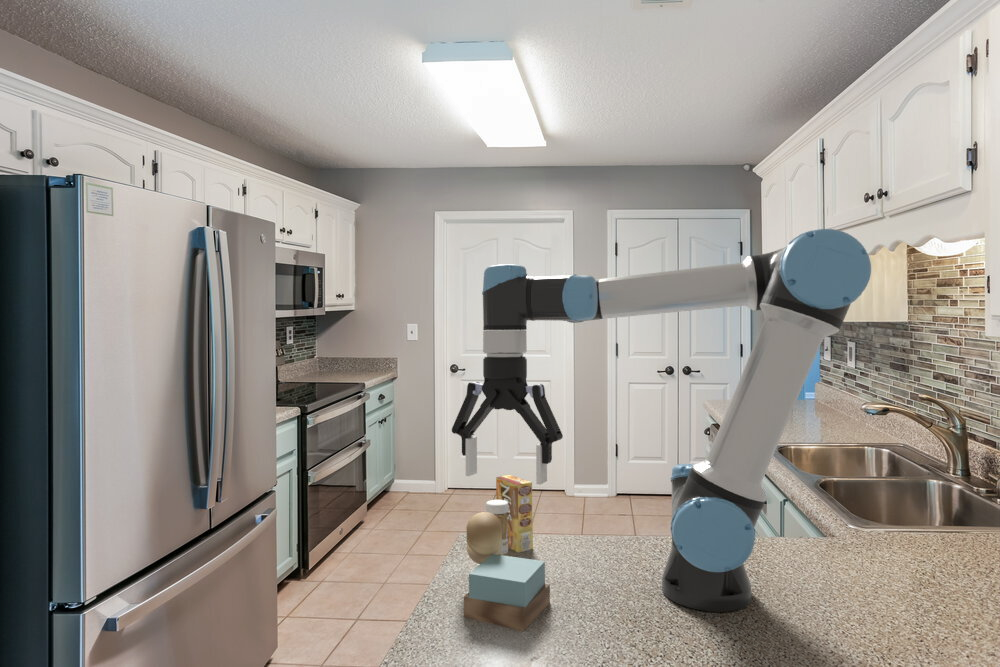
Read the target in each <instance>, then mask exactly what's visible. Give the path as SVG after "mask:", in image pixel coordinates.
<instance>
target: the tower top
mask: <svg viewBox="0 0 1000 667" xmlns="http://www.w3.org/2000/svg"><path fill="white" fill-rule="evenodd" d="M545 570H546V561H544V560H540V559H539V560H538V559H530V558H525V557H515V556H509V555H508V556H503V555H496V554H492V555H491V556H490V557H488V558H487V559H486V560H485V561H484V562H482V563H481V564H478V565H477V566H476V567H475V568H474V569H473V570H471V571H470V572H469V573H468V593H469V598H473V599H479V600H484V601H490V602H496V603H502V604H508V605H513V606H519V607H526V606H527V605H528V604H529V602H530V601H531V600H532V599H533V598H534V597H535V595H536V594H537V593H538V592H539V591H540V589H541V588H542V587H543V586H544V585H545V584H546V571H545Z"/></svg>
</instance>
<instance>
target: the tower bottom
mask: <svg viewBox="0 0 1000 667" xmlns="http://www.w3.org/2000/svg"><path fill="white" fill-rule="evenodd" d="M550 585H551V584H550V583H545V585H544V586H543V587H542V588H541V589H540V591H539V592H538V593H537V594H536V595H535V597H534V598H533V599H532V600H531V601H530V602H529V604H528V605H527V606H526V607H519V606H513V605H508V604H502V603H496V602H490V601H484V600H479V599H473V598H469V592H468V593H466V594H464V596H463V618H466V619H470V620H475V621H479V622H483V623H487V624H490V625H495V626H499V627H503V628H506V629H511V630H516V631H519V632H524V631H525V630H527V628H529V627H530V625H531V624H532V623H533V622H534V621H535V620H536V619H537V617H539V615H540V614H542V612H543V611H544V610H545V609H546V608H547V607H548V606H549V605H550V604H551V586H550Z"/></svg>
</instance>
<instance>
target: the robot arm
mask: <svg viewBox="0 0 1000 667" xmlns="http://www.w3.org/2000/svg"><path fill="white" fill-rule="evenodd" d="M871 275H872V264H871V258H870V255H869V254H868V252H867V250H866V248H865V246H864V245H863V244H862V243H861V242H860V241H859V240H858V239H857V238H856V237H855V236H853V235H852V234H849V233H848V232H845V231H842V230H838V229H836V228H835V229H834V228H820V229H819V228H818V229H814V230H813V229H812V230H808V231H806V232H802V233H801V234H799V235H798V236H797V235H796V237H794V238H793V239H792V240H790V242H788V244H787V245H786V246H784V247H782V248H780V249H776V250H774V251H771V252H766V253H762V254H758V255H757V254H755V255H748V256H747V257H746V258H745V259H744V260H743V261H742V262H738V263H728V264H720V265H719V264H718V265H712V266H703V267H695V268H694V267H693V268H686V269H678V270H677V269H676V270H675V269H674V270H668V271H658V272H649V273H640V274H632V275H631V274H630V275H623V276H616V277H615V276H614V277H606V278H605V277H604V278H597V279H595V277H594V276H592V275H581V274H580V275H579V274H572V275H551V276H530V275H529V276H528V273H527V268H526V267H525V266H524V265H519V264H495V265H493V264H492V265H490V266H487V267H486V268H485V270H484V273H483V281H482V282H483V283H482V284H483V286H482V291H481V295H482V315H483V316H482V318H483V319H482V320H483V330H482V335H483V338H482V342H483V343H482V344H483V345H482V349H483V350H482V352H483V354H486V356H484V358H483V360H482V363H483V364H482V366H483V367H482V370H483V371H482V372H483V379H484V380H483V383H480V381H473V382H472V381H471V382H468V383H467V386H466V395H465V398H464V400H463V402H462V405H461V407H460V409H459V411H458V413H457V416H456V418H455V420H454V423H453V425H452V428H451V432H452V433H453V434H454V435H455V434H456V435H458V436H459V437H460V438H461V455H462V456H463V457H464V456H465V477H471V476H473V475H476V474H477V473H478V444H477V443H478V436H474V435H475V432H476V431H477V430H478V428H479V427H480V426H481V424H482V423H483V422H484V421H485V419H486V418H487V417H488V416H489V414H490V413H491V412H492V411H493V410H505V411H512V410H513V411H515V412H517V413H518V414H519V415H520V416H521V418H522V419H523V420H524V422H525V423H526V424H527V426H528V427H529V429H530V430H531V431H532V433H533V434H534V435H535V436H536V438H537V440H538V441H539V443H537V444H536V445H535V446H536V447H535V448H536V449H535V450H536V451H535V452H536V454H535V456H536V460H535V461H536V462H535V463H536V467H535V468H536V472H535V474H536V475H535V478H536V480H535V481H536V485H543V484H544V483H546V482H547V481H548V464H550V463H551V462H552V460H553V458H552V457H553V456H552V455H553V454H552V453H553V452H552V450H553V448H552V447H553V443H556V442H558V441H560V440H562V439H563V436H564V435H563V433H562V431H561V427H560V426H559V424H558V422H557V420H556V417H555V414H554V412H553V410H552V409H551V407H550V405H549V402H548V400H547V397H546V390H545V385H544V384H543V383H538V384H533V385H528V383H527V376H528V375H527V374H528V373H527V372H528V364H527V363H528V362H527V361H528V359H527V357H526V356H524V354H526V353H527V348H528V347H527V329H528V328H527V322H528V321H533V322H535V321H559V322H560V321H562V322H567V323H572V324H575V323H582V322H583V323H584V322H586V321H595V320H599V321H600V320H605V319H615V318H626V317H637V316H638V317H639V316H647V315H649V316H650V315H659V314H672V313H681V312H690V311H703V310H713V309H715V310H716V309H724V308H733V307H734V308H736V307H743V306H744V307H748V308H749V309H750V310H751V311H761V312H762V315H763V316H764V321H763V323H762V326H761V327H760V330H759V332H758V334H757V337H756V340H755V342H754V345H753V347H752V349H751V352H750V353H749V354H750V355H749V357H748V359H747V361H746V364H745V366H744V369H743V371H742V373H741V376H740V378H739V381H738V382H737V385H736V387H735V390H734V392H733V394H732V396H731V399H730V402H729V405H728V407H727V409H726V411H725V414H724V417H723V418H722V421H721V423H720V425H719V428H718V431H717V432H716V436H715V438H714V440H713V443H712V445H711V447H710V450H709V452H708V453H707V457H706V459H704V460H702V461H699V462H696V463H679V464H676V465H674V466H673V468H672V469H671V477H670V482H671V520H670V521H671V522H670V524H671V525H670V535H671V549H670V552H669V555H668V558H667V561H666V564H665V566H664V570H663V573H662V577H661V590H662V593H663V594H664V595H665V597H666V598H668V599H669V600H670V601H672V602H674V603H676V604H678V605H681V606H683V607H686V608H690V609H694V610H699V611H703V612H704V611H705V612H712V613H713V612H714V613H726V612H736V611H740V610H743V609H744V608H747V607H748V606H750V605H751V602H752V585H751V583H750V580H749V575H748V573H747V570H746V567H745V564H744V563H745V562H746V561H748V559H749V558H750V557H751V554H752V552H753V551H754V546H755V541H756V530H755V526H756V524H757V523H758V520H759V518H760V516H761V514H762V511H763V508H764V506H765V503H766V501H767V495H766V493H765V491H764V488H763V486H762V483H763V480H764V478H765V475H766V473H767V470H768V468H769V466H770V464H771V461H772V459H773V457H774V455H775V452H776V449H777V447H778V445H779V442H780V440H781V438H782V436H783V434H784V431H785V428H786V427H787V425H788V422H789V419H790V417H791V415H792V412H793V410H794V408H795V405H796V403H797V401H798V398H799V396H800V394H801V391H802V389H803V387H804V385H805V382H806V380H807V378H808V375H809V373H810V370H811V368H812V366H813V363H814V362H815V359H816V356H817V354H818V352H819V349H820V347H821V344H822V342H823V340H825V338H827V337H829V336H833V335H835V334H837V333H839V331H840V329H841V327H842V325H843V322H844V320H845V318H846V316H847V314H848V311H849V308H850V307H851V304H852V303H854V302H855V301H857V300H858V298H859V297H860V296H862V294H863V292H864V291H865V290H866V288H867V286H868V285H869V283H870V279H871ZM482 393H483V395H484V396H485V399H484V400H483V401H482V402H481V403H480V407H479V408H478V410H477V411H476V412H475V413H474V415H473V416H472V417H471V415H472V412H473V410H474V408H475V406H476V404H477V401H478V399H479V396H480V395H482ZM528 394H529V396H530V398H532V399H533V402H534V405H535V407H536V410H537V411H538V414H539V416H540V418H541V420H542V421H541V420H540V419H539V418H538V416H537V415H536V413H535V412H534V411H533V409H532V408H531V405H530V404H529V402H528V400H527V399H526V397H527V396H528Z"/></svg>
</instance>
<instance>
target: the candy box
mask: <svg viewBox="0 0 1000 667" xmlns="http://www.w3.org/2000/svg"><path fill="white" fill-rule="evenodd" d="M495 483H496V484H495V485H496V486H495V487H496V488H495V489H496V492H495V493H496V500H505V501H507V502H508V514H507V522H508V524H507V526H508V527H507V528H508V549H511V550H512V551H515V552H517V553H523V552H526V551H530V550H533V549H534V541H533V540H534V538H533V537H534V534H533V532H534V531H533V528H534V527H533V526H534V525H533V523H534V520H533V482H532V481H529V480H527V479H526V480H525V479H524V478H520V477H517V476H514V475H512V474H509V475H502V476H496V477H495Z"/></svg>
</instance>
